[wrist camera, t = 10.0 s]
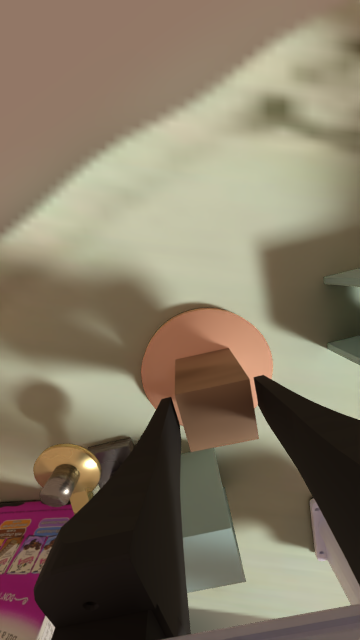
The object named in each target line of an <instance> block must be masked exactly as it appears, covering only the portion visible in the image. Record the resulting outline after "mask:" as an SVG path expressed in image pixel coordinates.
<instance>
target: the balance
mask: <svg viewBox="0 0 360 640" xmlns="http://www.w3.org/2000/svg"><path fill="white" fill-rule="evenodd" d="M133 449H134V445H133V442H132V440H131V438H128V439H123V440H119V441H115V442H110V443H106V444H102V445H97V446H93V447H88V449H85V448H83V447H81V446H78V445H73V444H58V445H54V446H51V447H49V448H47V449H46V450H44V451H43V452H42V453H41V455H40V456H39V457H38V459H37V460H36V462H35V464H34V476H35V478H36V480H37V482H38V483H39V484H40V486H41V487H43V489H42V490H41V492H40V499H41V501H42V502H43V503H45V504H46V505H48V506H51V507H61V506H64V505H66V504H67V503H68V501H69V499H70V502H71V505H72V508H73V512H74V515H75V514H76V513H77V512H78V511H79V510H80V509H81V508H82V507H83V506H84V505H86V504H87V503H88V502H89V501H90V500H91V499H92V497H93V496H94V495H93V492H92V490H93V489H94V488H95V487H96V486H97V484H99V486H100V488H102V487H103V486H104V485H105V484H106V483H107V481H108V480H109V479H110V478H111V477H112V476H113V474H114V473H115V472H116V471H117V470H118V468H119V467H120V466H121V465H122V463H123V462H124V461H125V460H126V458H127V457H128V456H129V454H130V453H131V451H132V450H133Z"/></svg>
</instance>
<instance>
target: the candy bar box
mask: <svg viewBox="0 0 360 640" xmlns="http://www.w3.org/2000/svg"><path fill="white" fill-rule="evenodd" d="M73 516H74V512H73V508H72V505H71V502H70V499H69V501H68V503H67V504H66V505H64V506H61V507H51V506H48V505H46V504H45V503H43V502H42V501H28V502H11V503H0V640H51V638H52V635H53V632H54V629H55V627H54V625H53V624H52V623H51V622H50V620H49V619H48V618H47V617H46V615H45V614H44V613H43V612H42V610H41V609H40V608H39V607H38V605H37V603H36V601H35V598H34V586H35V584H36V581H37V579H38V577H39V574H40V572H41V570H42V568H43V565H44V563H45V561H46V559H47V556H48V554H49V552H50V550H51V548H52V545H53V543H54V541H55V539H56V537H57V535H58V533H59V531H60V529H61V527H62V526H63V525H64V524H65V523H67V522H68V521H69V520H70V519H71V518H72V517H73Z"/></svg>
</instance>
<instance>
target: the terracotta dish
mask: <svg viewBox="0 0 360 640" xmlns="http://www.w3.org/2000/svg"><path fill="white" fill-rule="evenodd" d="M226 348H229V349H230V350H231V352H232V353H233V355H234V356H235V358H236V359H237V361H238V362H239V364H240V365H241V367H242V368H243V370H244V371H245V373H246V374H247V376H248V377H249V379H250V384H251V391H252V398H253V404H254V409H255V408H256V406H257V405H258V401H257V395H256V389H255V384H254V378H253V377H257V376H261V375H264V376H266V377H268V378H270V379H271V378H272V372H273V361H272V355H271V351H270V349H269V346H268V344H267V342H266V340H265V338H264V337H263V335H262V334H261V333H260V332H259V330H257V329H256V328H255V327H254V326H253V325H252V324H251V323H249V322H248V321H246V320H245V319H243V318H242V317H240V316H238V315H236V314H234V313H232V312H229V311H226V310H222V309H217V308H198V309H193V310H189V311H186V312H183V313H181V314H179V315H176V316H174V317H173V318H171V319H170V320H168V321H167V322H166V323H164V324H163V325H162V326H161V327H160V328H159V329H158V330H157V331H156V333H155V334H154V335H153V337H152V338H151V340H150V342H149V344H148V346H147V349H146V351H145V354H144V357H143V361H142V367H141V377H142V384H143V388H144V391H145V393H146V395H147V398H148V399H149V401H150V402H151V404H152V405H153V406H154V408H155V409H157V407H158V405H159V403H160V401H161V399H164V398H168V397H171V398H172V401H173V404H174V407H175V411H176V414H177V417H178V420H179V423H180V425H182V426H183V423H182V419H181V415H180V412H179V408H178V405H177V401H176V398H175V360H176V359H180V358H185V357H189V356H194V355H198V354H203V353H207V352H212V351H216V350H221V349H226Z"/></svg>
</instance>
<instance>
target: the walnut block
mask: <svg viewBox="0 0 360 640" xmlns="http://www.w3.org/2000/svg"><path fill="white" fill-rule="evenodd" d="M175 398H176V401H177V405H178V408H179V412H180V415H181V419H182V423H183V426H184V430H185V433H186V437H187V440H188V444H189V447H190V451H191V452H194V451H199V450H204V449H209V448H214V447H219V446H225V445H230V444H235V443H240V442H245V441H250V440H255V439H259V437H258V430H257V424H256V417H255V411H254V404H253V398H252V391H251V384H250V379H249V377H248V376H247V374H246V373H245V371H244V370H243V368H242V367H241V365H240V364H239V362H238V361H237V359H236V358H235V356H234V355H233V353H232V352H231V350H230V349H229V348H226V349H221V350H216V351H212V352H207V353H203V354H198V355H194V356H189V357H185V358H180V359H176V360H175Z"/></svg>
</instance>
